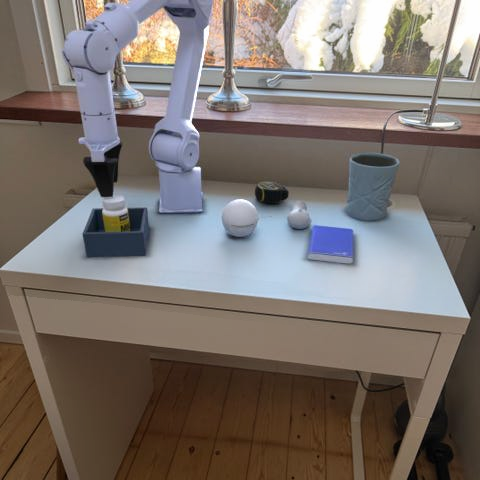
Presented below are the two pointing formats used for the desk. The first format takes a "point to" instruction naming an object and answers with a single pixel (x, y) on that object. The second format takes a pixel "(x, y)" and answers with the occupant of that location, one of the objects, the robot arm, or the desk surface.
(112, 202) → the supplement bottle
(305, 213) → the pale two-lobed sculpture
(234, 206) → the seamed sphere
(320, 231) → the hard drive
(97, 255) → the desk bin
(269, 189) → the tape measure
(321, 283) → the desk surface
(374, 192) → the embossed planter pot
